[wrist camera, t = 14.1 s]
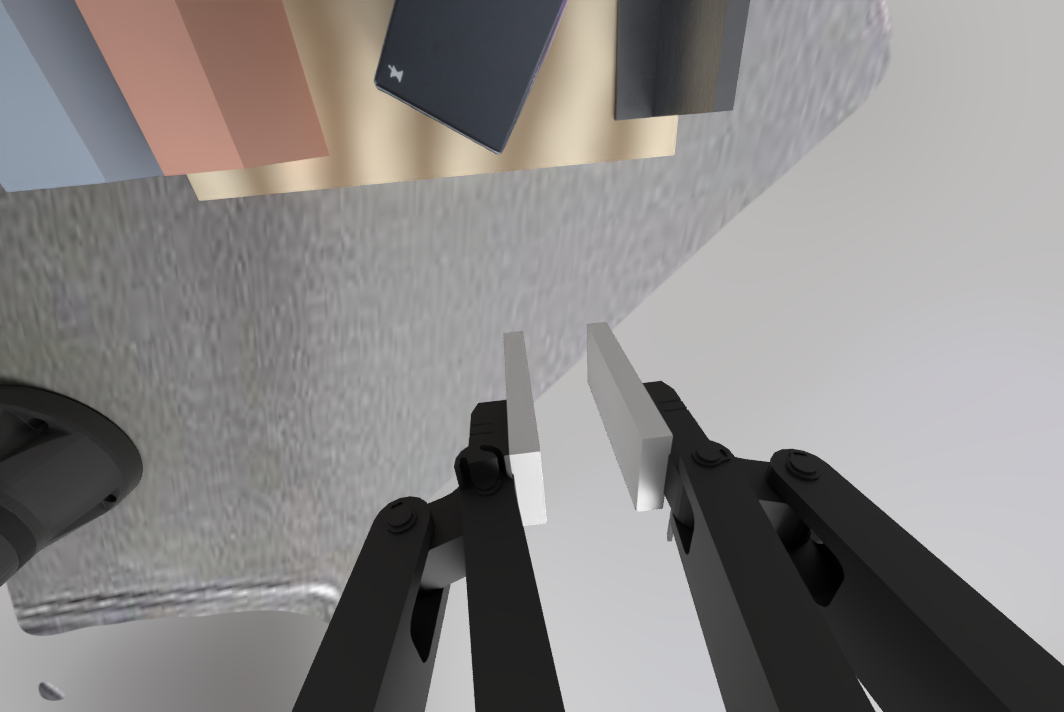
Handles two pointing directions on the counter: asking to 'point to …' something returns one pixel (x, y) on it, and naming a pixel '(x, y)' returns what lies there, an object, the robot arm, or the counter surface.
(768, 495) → the robot arm
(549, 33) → the small box
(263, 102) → the book
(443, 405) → the counter surface
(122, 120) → the book
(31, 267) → the counter surface
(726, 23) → the bookend
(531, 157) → the shelf board
